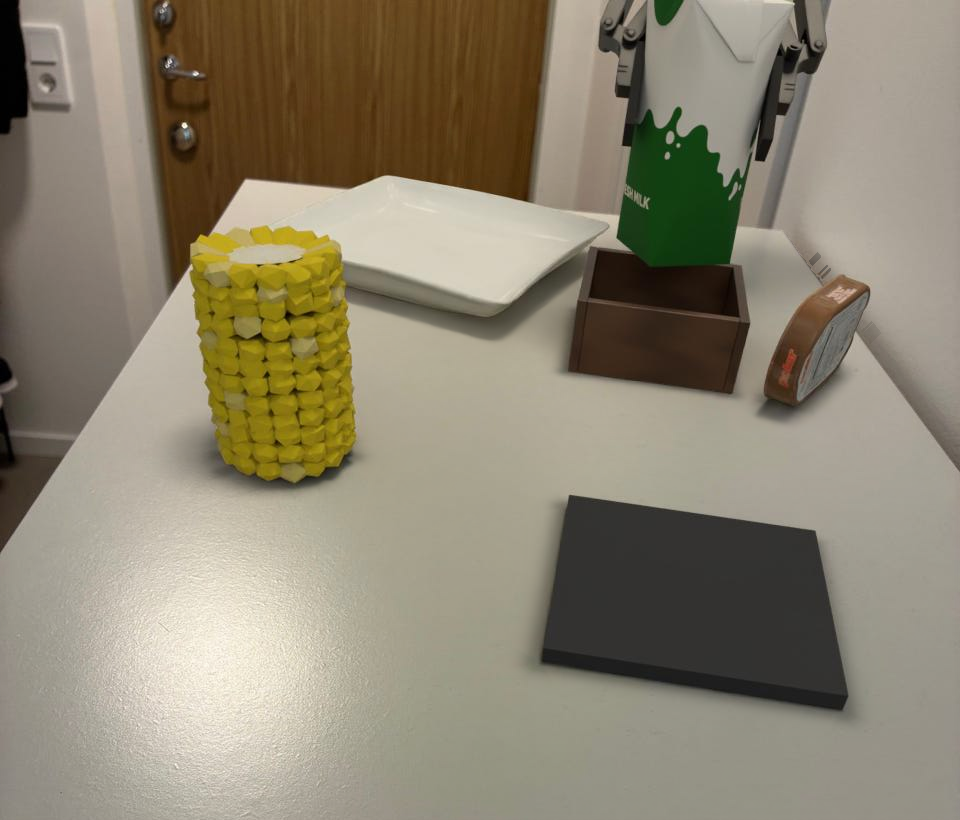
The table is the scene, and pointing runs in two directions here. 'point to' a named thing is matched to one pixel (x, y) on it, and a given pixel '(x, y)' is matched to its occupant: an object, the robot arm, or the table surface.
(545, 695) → the table surface
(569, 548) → the mat
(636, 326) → the crate
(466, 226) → the square plate
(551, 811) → the table surface
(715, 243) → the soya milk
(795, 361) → the tin
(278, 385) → the food
